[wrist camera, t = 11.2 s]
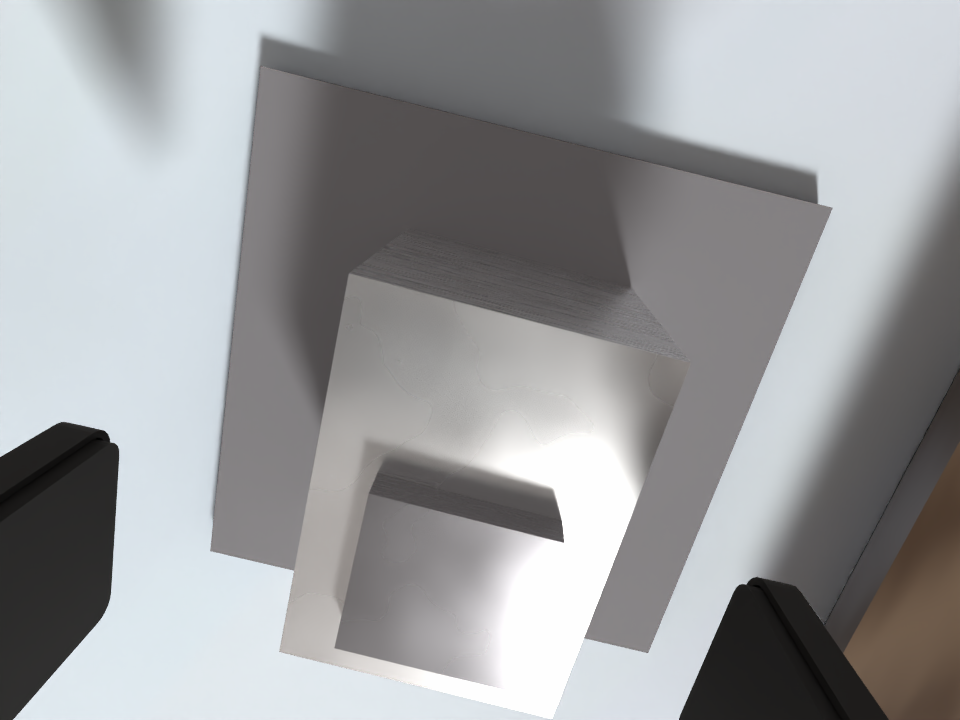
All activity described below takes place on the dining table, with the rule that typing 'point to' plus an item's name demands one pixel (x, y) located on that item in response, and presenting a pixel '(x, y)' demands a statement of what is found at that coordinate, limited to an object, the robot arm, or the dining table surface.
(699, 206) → the rubber mat
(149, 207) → the dining table surface
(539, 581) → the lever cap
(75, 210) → the dining table surface
